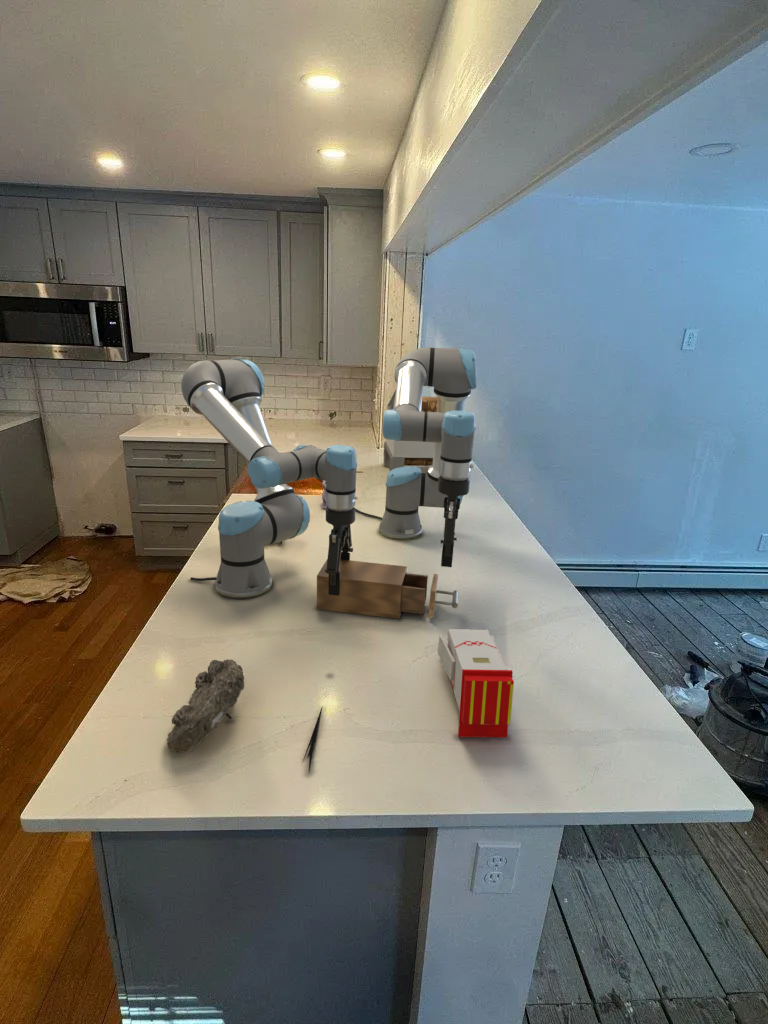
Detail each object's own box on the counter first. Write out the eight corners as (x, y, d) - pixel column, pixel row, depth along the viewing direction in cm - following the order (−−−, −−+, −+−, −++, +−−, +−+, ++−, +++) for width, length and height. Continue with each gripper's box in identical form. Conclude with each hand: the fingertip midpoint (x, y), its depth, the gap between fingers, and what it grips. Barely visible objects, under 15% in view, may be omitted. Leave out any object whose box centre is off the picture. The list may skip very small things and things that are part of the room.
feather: (331, 679, 122) (336, 673, 122) (307, 777, 96) (313, 769, 95) (324, 675, 122) (329, 669, 121) (298, 772, 95) (304, 764, 95)
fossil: (192, 660, 117) (244, 628, 112) (224, 691, 120) (276, 661, 115) (142, 746, 98) (202, 712, 93) (182, 779, 101) (242, 748, 96)
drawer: (458, 602, 153) (460, 576, 150) (456, 621, 143) (459, 594, 141) (361, 591, 156) (362, 565, 154) (354, 608, 147) (354, 582, 144)
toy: (488, 613, 130) (523, 677, 101) (484, 667, 133) (517, 744, 104) (435, 612, 130) (455, 676, 101) (432, 666, 133) (451, 743, 103)
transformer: (382, 463, 289) (386, 382, 275) (445, 464, 293) (451, 384, 279) (390, 482, 257) (394, 392, 243) (460, 483, 261) (468, 394, 247)
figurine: (325, 511, 218) (326, 473, 213) (316, 503, 226) (316, 467, 221) (348, 508, 222) (349, 471, 217) (337, 500, 231) (338, 465, 225)
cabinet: (405, 598, 156) (406, 566, 152) (399, 618, 145) (401, 585, 142) (327, 589, 159) (327, 557, 155) (316, 609, 148) (316, 575, 145)
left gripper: (344, 524, 132) (343, 607, 140) (364, 494, 154) (361, 567, 162) (313, 521, 133) (313, 603, 141) (337, 491, 155) (336, 564, 163)
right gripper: (469, 485, 130) (460, 578, 138) (470, 470, 142) (462, 556, 150) (436, 482, 131) (429, 575, 139) (440, 468, 143) (433, 553, 151)
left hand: (339, 584), depth 151 cm, fingers closed on cabinet, 11 cm apart
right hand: (446, 565), depth 144 cm, fingers closed
